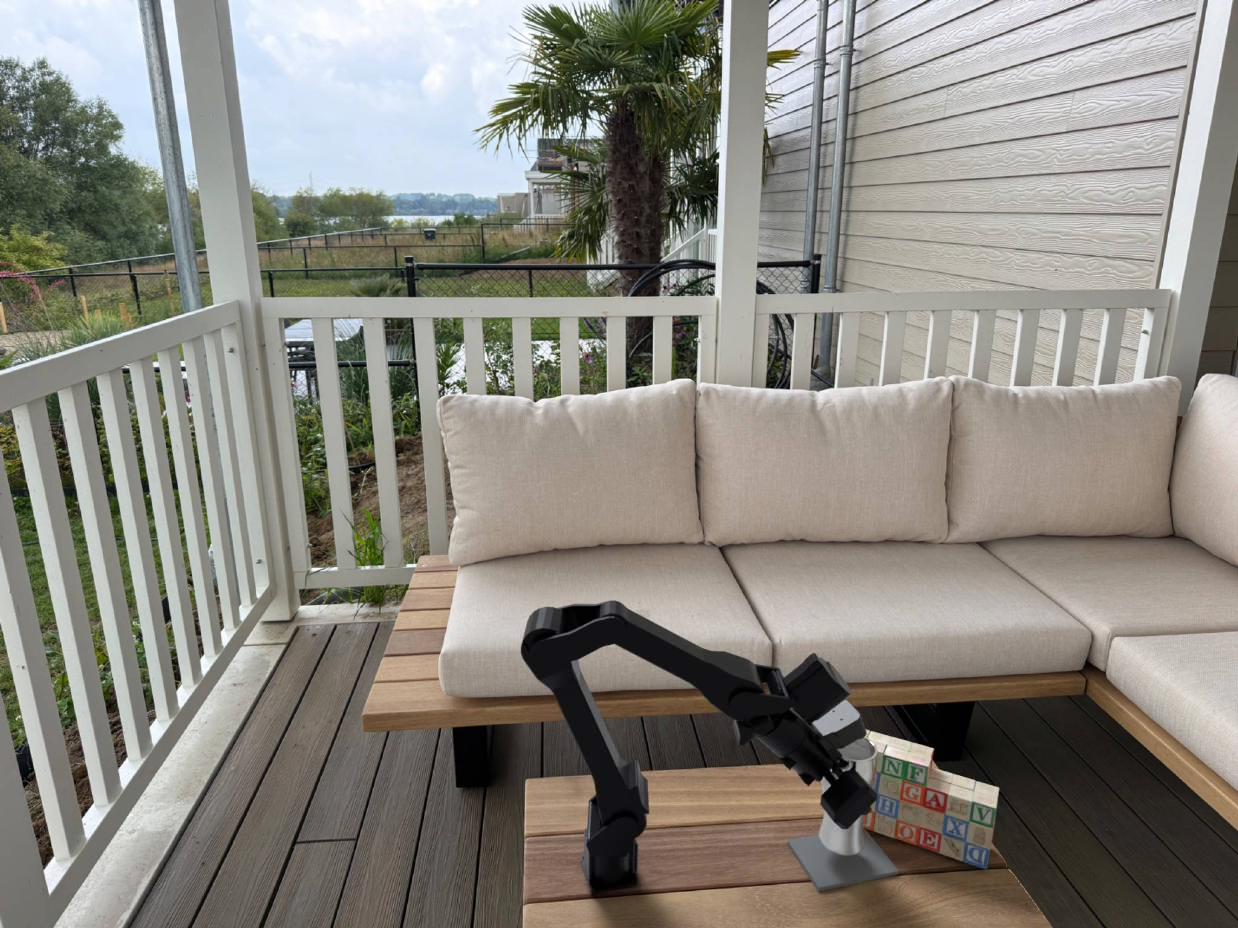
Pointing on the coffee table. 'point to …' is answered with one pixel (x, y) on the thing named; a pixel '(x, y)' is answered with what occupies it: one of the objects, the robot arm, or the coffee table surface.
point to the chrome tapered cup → (852, 839)
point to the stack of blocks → (930, 803)
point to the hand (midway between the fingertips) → (855, 795)
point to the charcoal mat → (841, 863)
